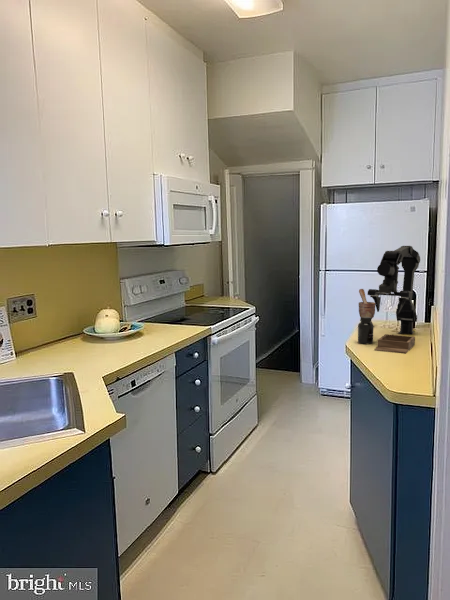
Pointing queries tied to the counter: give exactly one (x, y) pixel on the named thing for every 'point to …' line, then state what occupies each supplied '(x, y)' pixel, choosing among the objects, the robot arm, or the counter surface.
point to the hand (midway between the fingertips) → (388, 312)
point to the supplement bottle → (365, 331)
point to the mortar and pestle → (366, 306)
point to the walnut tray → (395, 343)
